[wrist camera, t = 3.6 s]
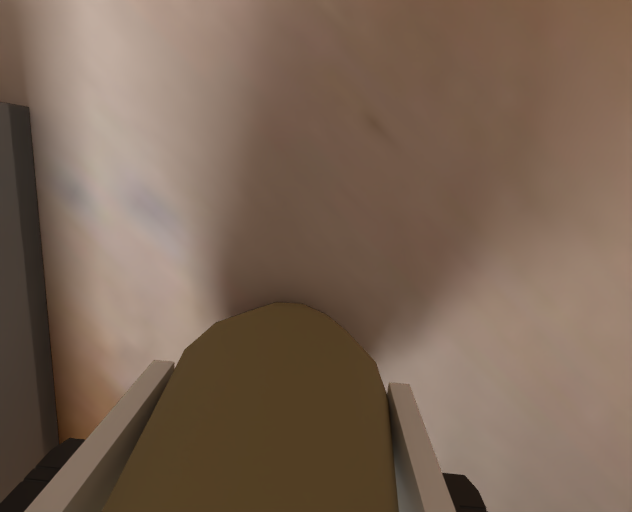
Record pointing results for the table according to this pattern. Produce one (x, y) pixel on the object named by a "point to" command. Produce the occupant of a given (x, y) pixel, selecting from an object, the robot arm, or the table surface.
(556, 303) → the table surface
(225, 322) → the squeeze bottle
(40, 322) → the bin
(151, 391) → the robot arm
